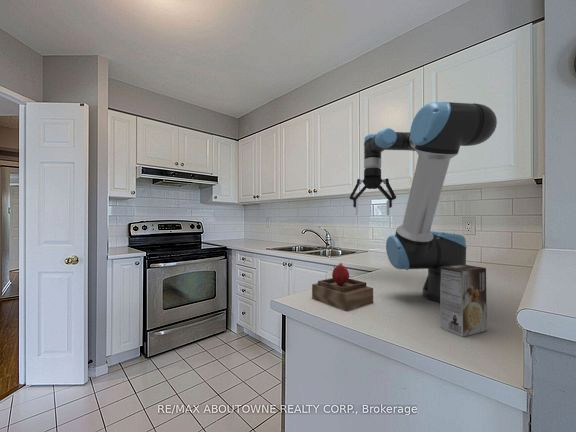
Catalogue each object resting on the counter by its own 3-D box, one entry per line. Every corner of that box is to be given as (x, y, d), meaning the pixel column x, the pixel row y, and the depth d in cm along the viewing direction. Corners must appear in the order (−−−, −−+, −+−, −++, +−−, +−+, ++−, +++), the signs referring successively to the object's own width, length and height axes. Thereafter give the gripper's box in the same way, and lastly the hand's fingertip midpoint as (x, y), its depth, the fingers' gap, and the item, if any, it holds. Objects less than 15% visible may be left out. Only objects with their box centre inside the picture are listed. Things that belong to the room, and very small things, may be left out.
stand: (373, 303, 92) (373, 283, 92) (346, 311, 84) (346, 289, 84) (337, 292, 105) (337, 275, 105) (312, 298, 97) (312, 280, 97)
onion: (349, 288, 92) (349, 264, 91) (332, 287, 93) (332, 264, 92) (348, 284, 97) (348, 261, 97) (332, 283, 98) (332, 261, 98)
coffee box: (462, 322, 75) (462, 263, 75) (487, 331, 70) (487, 267, 70) (439, 327, 72) (439, 266, 72) (463, 337, 66) (463, 270, 66)
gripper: (399, 170, 128) (399, 215, 126) (344, 171, 133) (344, 215, 131) (403, 166, 120) (403, 214, 119) (344, 167, 125) (344, 213, 124)
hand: (372, 214), depth 125 cm, fingers open, 13 cm apart
